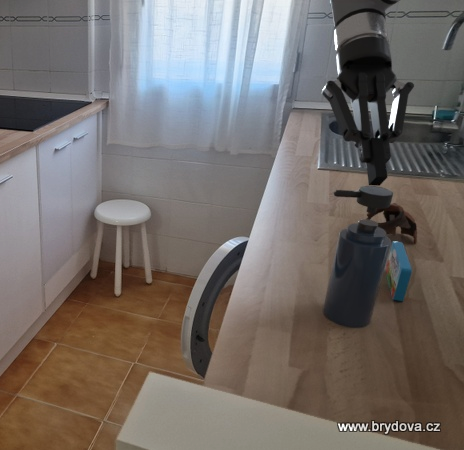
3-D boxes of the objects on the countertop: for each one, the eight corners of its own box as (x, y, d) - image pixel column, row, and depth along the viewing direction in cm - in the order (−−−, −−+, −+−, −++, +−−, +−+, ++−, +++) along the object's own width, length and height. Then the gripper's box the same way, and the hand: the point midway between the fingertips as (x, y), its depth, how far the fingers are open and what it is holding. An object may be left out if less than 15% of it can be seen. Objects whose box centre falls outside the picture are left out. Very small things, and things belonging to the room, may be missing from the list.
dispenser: (361, 306, 90) (384, 215, 84) (377, 329, 84) (403, 233, 77) (317, 302, 91) (336, 212, 85) (329, 326, 85) (351, 230, 78)
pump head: (381, 207, 82) (386, 186, 81) (392, 218, 78) (398, 196, 77) (326, 204, 83) (330, 183, 82) (334, 215, 79) (339, 193, 78)
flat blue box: (385, 270, 102) (392, 240, 99) (394, 271, 101) (402, 241, 99) (392, 300, 91) (401, 268, 89) (402, 302, 91) (412, 270, 88)
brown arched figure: (422, 252, 109) (411, 220, 106) (371, 261, 115) (358, 231, 112) (418, 218, 118) (407, 188, 115) (370, 227, 124) (359, 199, 121)
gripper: (395, 65, 90) (413, 194, 81) (312, 64, 91) (322, 190, 83) (417, 34, 83) (440, 171, 74) (327, 33, 85) (339, 167, 76)
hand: (378, 181), depth 79 cm, fingers closed
